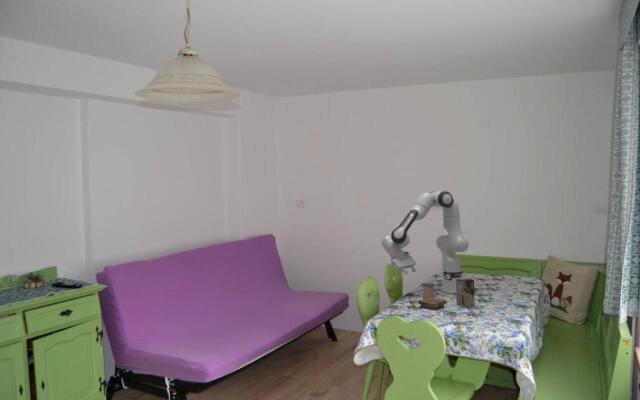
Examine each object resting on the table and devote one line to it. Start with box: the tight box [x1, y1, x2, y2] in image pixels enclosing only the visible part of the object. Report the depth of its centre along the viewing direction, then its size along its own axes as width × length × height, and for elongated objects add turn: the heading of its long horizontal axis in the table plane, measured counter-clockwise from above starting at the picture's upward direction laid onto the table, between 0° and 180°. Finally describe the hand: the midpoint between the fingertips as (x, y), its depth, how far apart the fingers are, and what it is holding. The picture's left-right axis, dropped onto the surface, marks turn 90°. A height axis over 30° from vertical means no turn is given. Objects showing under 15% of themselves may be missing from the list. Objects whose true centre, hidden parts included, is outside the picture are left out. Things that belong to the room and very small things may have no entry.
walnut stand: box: [418, 297, 447, 311], centre depth 307 cm, size 12×12×4 cm
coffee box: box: [455, 277, 476, 308], centre depth 310 cm, size 9×6×16 cm
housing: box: [422, 281, 435, 300], centre depth 320 cm, size 5×5×12 cm
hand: (410, 272), depth 329 cm, fingers open, 8 cm apart
